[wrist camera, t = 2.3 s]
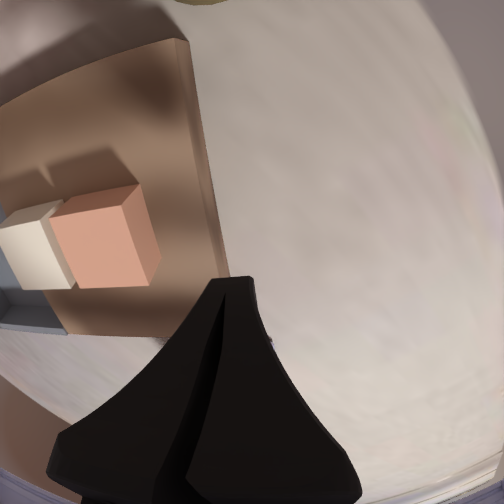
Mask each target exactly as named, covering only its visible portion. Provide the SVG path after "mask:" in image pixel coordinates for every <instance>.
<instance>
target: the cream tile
mask: <svg viewBox="0 0 504 504" xmlns="http://www.w3.org/2000/svg"><path fill="white" fill-rule="evenodd" d="M63 204H64V201H63V199H61V200H57V201H52V202H48V203H44V204H40V205H36V206H32V207H28V208H24V209H20V210H17V211H15V212H14V213H12V214H11V215H10V216H9V217H8V218H7V219H5V220H4V221H3V222H2V223H1V224H0V247H1V249H2V251H3V253H4V255H5V257H6V259H7V261H8V263H9V265H10V267H11V269H12V270H13V272H14V274H15V276H16V278H17V280H18V282H19V283H20V285H21V287H22V289H23V290H46V289H71V288H72V287H73V285H74V284H75V282H76V279H75V277H74V275H73V273H72V271H71V269H70V267H69V265H68V263H67V261H66V258H65V256H64V254H63V252H62V250H61V247H60V245H59V243H58V241H57V238H56V236H55V233H54V231H53V229H52V226H51V224H50V221H49V219H48V218H49V217H50V216H51V215H52V214H54V213H55V212H56V211H57V210H58V209H59V208H60V207H61V206H62V205H63Z"/></svg>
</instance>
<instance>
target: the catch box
mask: <svg viewBox="0 0 504 504" xmlns="http://www.w3.org/2000/svg"><path fill="white" fill-rule="evenodd" d="M5 219H7V217H6V215H5V212H4V210H3V207H2V205H1V202H0V224H1V223H2V222H3V221H4V220H5ZM0 329H7V330H15V331H24V332H33V333H43V334H55V335H68V333H67V331H66V330H65V328H64V327H63V325H62V323H61V322H60V320H59V319H58V317H57V315H56V314H55V312H54V310H53V309H52V307H51V305H50V304H49V302H48V300H47V299H46V297H45V295H44V293H43V292H42V290H23V289H22V287H21V285H20V283H19V282H18V280H17V278H16V276H15V274H14V272H13V270H12V269H11V267H10V265H9V263H8V261H7V259H6V257H5V255H4V253H3V251H2V249H1V247H0Z"/></svg>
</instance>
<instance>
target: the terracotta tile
mask: <svg viewBox="0 0 504 504" xmlns="http://www.w3.org/2000/svg"><path fill="white" fill-rule="evenodd" d="M48 219H49V221H50V224H51V226H52V229H53V231H54V233H55V236H56V238H57V241H58V243H59V245H60V247H61V250H62V252H63V254H64V256H65V258H66V261H67V263H68V265H69V267H70V269H71V271H72V273H73V275H74V277H75V279H76V281H77V283H78V285H79V287H80V289H81V288H108V287H131V286H149V285H150V283H151V280H152V278H153V276H154V273H155V271H156V269H157V267H158V264H159V262H160V260H161V258H162V257H161V254H160V251H159V247H158V244H157V241H156V238H155V234H154V231H153V228H152V225H151V221H150V218H149V214H148V211H147V207H146V204H145V200H144V197H143V193H142V189H141V186H140V184H136V185H130V186H124V187H119V188H114V189H108V190H103V191H98V192H93V193H88V194H84V195H79V196H74V197H71V198H70V199H69V200H68V201H67V202H65V203H64V204H63V205H62V206H61V207H60V208H59V209H58V210H57V211H56V212H55V213H54V214H52V215H51V216H50V217H49V218H48Z"/></svg>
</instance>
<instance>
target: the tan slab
mask: <svg viewBox="0 0 504 504" xmlns="http://www.w3.org/2000/svg"><path fill="white" fill-rule="evenodd" d="M136 184H140V186H141V189H142V193H143V197H144V200H145V204H146V207H147V211H148V214H149V218H150V221H151V225H152V228H153V231H154V234H155V238H156V241H157V244H158V247H159V251H160V254H161V257H162V258H161V260H160V262H159V264H158V267H157V269H156V271H155V273H154V276H153V278H152V280H151V283H150V285H149V286H131V287H108V288H81V289H80V287H79V285H78V283H77V281H76V282H75V284H74V285H73V287H72V288H71V289H46V290H42V292H43V293H44V295H45V297H46V299H47V300H48V302H49V304H50V305H51V307H52V309H53V310H54V312H55V314H56V315H57V317H58V319H59V320H60V322H61V323H62V325H63V327H64V328H65V330H66V331H67V333H68V334H79V335H97V336H123V337H171V336H172V335H173V334H174V332H175V331H176V330H177V329H178V327H179V326H180V325H181V323H182V322H183V320H184V319H185V317H186V316H187V315H188V313H189V312H190V310H191V309H192V307H193V306H194V304H195V303H196V301H197V300H198V298H199V297H200V295H201V294H202V292H203V290H204V289H205V287H206V286H207V284H208V282H209V281H210V280H211V279H212V278H225V277H230V273H229V268H228V263H227V258H226V253H225V248H224V243H223V238H222V232H221V227H220V222H219V217H218V211H217V206H216V201H215V195H214V190H213V184H212V179H211V173H210V167H209V162H208V156H207V150H206V145H205V139H204V133H203V127H202V121H201V115H200V109H199V103H198V97H197V91H196V84H195V78H194V72H193V65H192V59H191V52H190V45H189V42H187V41H184V40H181V39H177V38H170V39H166V40H162V41H158V42H154V43H151V44H147V45H143V46H140V47H136V48H133V49H130V50H127V51H123V52H120V53H117V54H114V55H111V56H108V57H106V58H103V59H100V60H97V61H95V62H92V63H89V64H87V65H84V66H82V67H79V68H77V69H74V70H72V71H70V72H67V73H65V74H63V75H60V76H58V77H56V78H54V79H52V80H50V81H47V82H45V83H43V84H41V85H39V86H37V87H35V88H33V89H31V90H29V91H27V92H25V93H24V94H22V95H20V96H18V97H16V98H14V99H13V100H11V101H9V102H7V103H6V104H4V105H2V106H1V107H0V202H1V205H2V207H3V210H4V212H5V215H6V217H7V218H8V217H9V216H10V215H11V214H12V213H14V212H15V211H17V210H20V209H24V208H28V207H32V206H36V205H40V204H44V203H48V202H52V201H57V200H61V199H63V201H64V203H65V202H67V201H68V200H69V199H70V198H71V197H74V196H79V195H84V194H88V193H93V192H98V191H103V190H108V189H114V188H119V187H124V186H130V185H136Z"/></svg>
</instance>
